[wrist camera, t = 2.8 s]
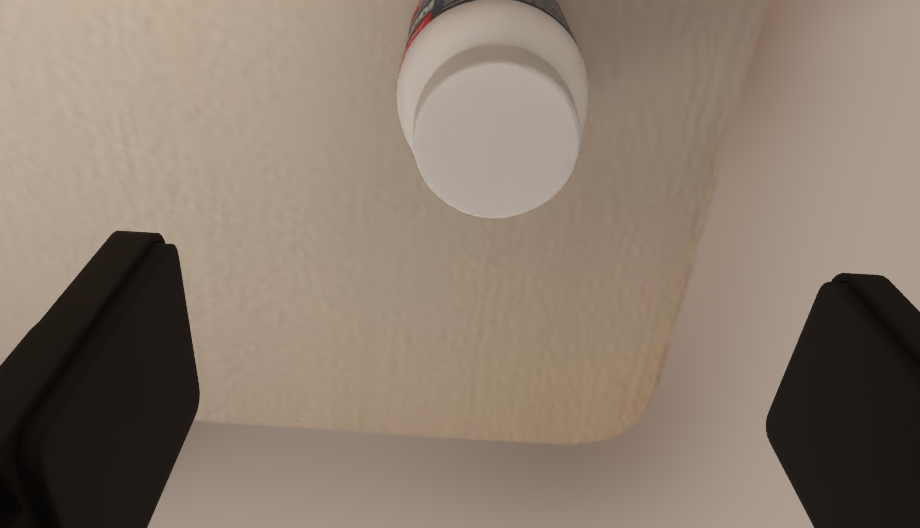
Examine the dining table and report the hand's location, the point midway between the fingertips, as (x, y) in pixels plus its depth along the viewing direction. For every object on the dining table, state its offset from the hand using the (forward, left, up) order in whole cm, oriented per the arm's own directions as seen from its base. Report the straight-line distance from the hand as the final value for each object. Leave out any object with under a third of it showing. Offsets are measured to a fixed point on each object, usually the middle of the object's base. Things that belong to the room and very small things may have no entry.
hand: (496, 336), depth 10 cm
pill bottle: (0, 0, -16) cm, 16 cm away
